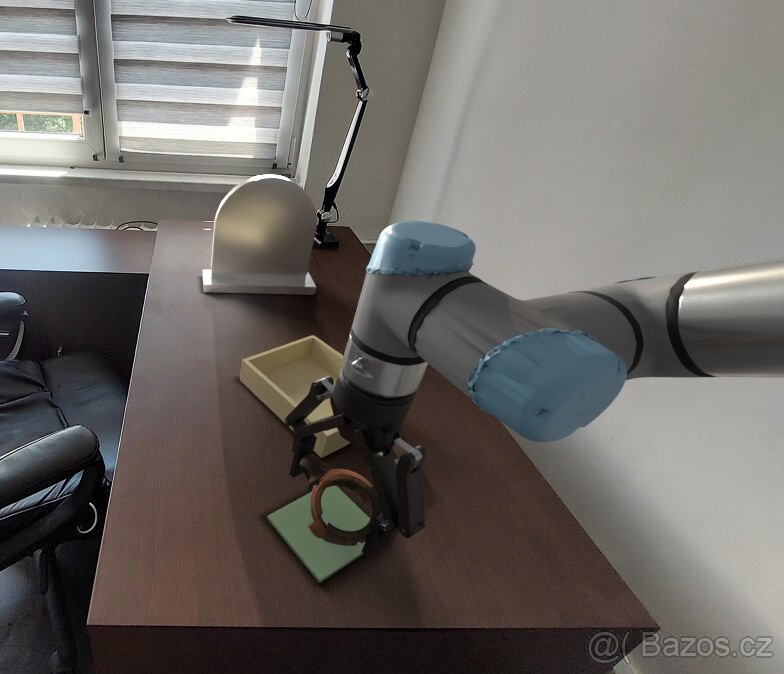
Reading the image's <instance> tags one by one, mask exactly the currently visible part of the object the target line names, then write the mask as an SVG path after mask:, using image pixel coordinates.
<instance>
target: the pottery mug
mask: <svg viewBox="0 0 784 674" xmlns="http://www.w3.org/2000/svg"><path fill="white" fill-rule="evenodd" d="M300 467H301V469H302V471H303V472H304V473H303V474H304V476H305V478H306V479H307V481H308V486H307V488H308V491H309V493H311V492H312V494H311V514H312V518H313V520H314V521H313V522H312V523H310V524H309V529H310V530H311V532H312V533H313V534H314V535H315V536H316V537H317V538H319V539H320V538H322V539H323V540H324V541H326V542H329V543H332V544H337V545H343V546H355V545H357V542H360V543H364V542H365V541H366V540H367V537H368V535H369V533H370V531H371V528H372V526H373V524H374V522H375V519H376V518H377V517H378V516H380V515H382V512H381V509H380V505H379V502H378V498H377V495H376V492H375V490H373V488H374V485H373V484H371V482H370V481H369V480H368V479H367V478H366V477H364V476H363V475H361V474H359V473H357V472H355V471H352V470H350V469H344V468H330V467H329V466H328V465H326V464H325V463H324V462H322V460H321V459H319V458H317V457H316V456H314V455H313V454H312V455H311V454H307V455H305V456H303V457H302V458H301V459H300ZM331 486H337V487H342V488H346V489H348V490H350V491H352V492H353V493H354V494H356V496H357V497H359V499H360V500H361V502H362V503H363V504H366V503H368V502H369V501H370V505H371V516H370V521H369V522H368V524H367V525H366V526H365V527H363V528H362V529H360V530H356V531H344V530H341V529H339V528H337V527H335V526H333V525H332V524H331V523H329V522H328V524H327V525H326V523H325V522H324V521H323V519H322V517H321V515H322V514H323V511H322V507H321V498H322V494H323V492H324V490H325V489H326V488H328V487H331Z"/></svg>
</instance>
